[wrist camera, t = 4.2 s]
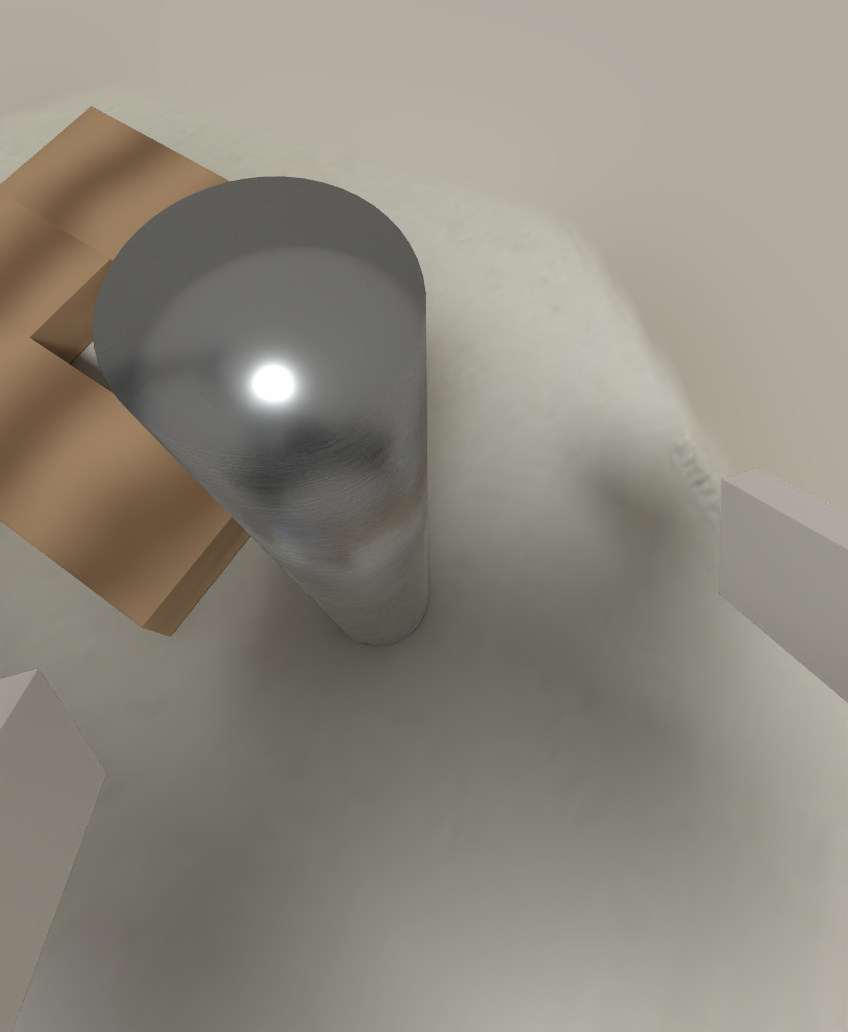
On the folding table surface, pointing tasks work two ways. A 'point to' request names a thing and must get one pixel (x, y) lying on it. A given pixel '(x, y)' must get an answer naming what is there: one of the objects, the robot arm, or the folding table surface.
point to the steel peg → (287, 381)
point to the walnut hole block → (94, 382)
